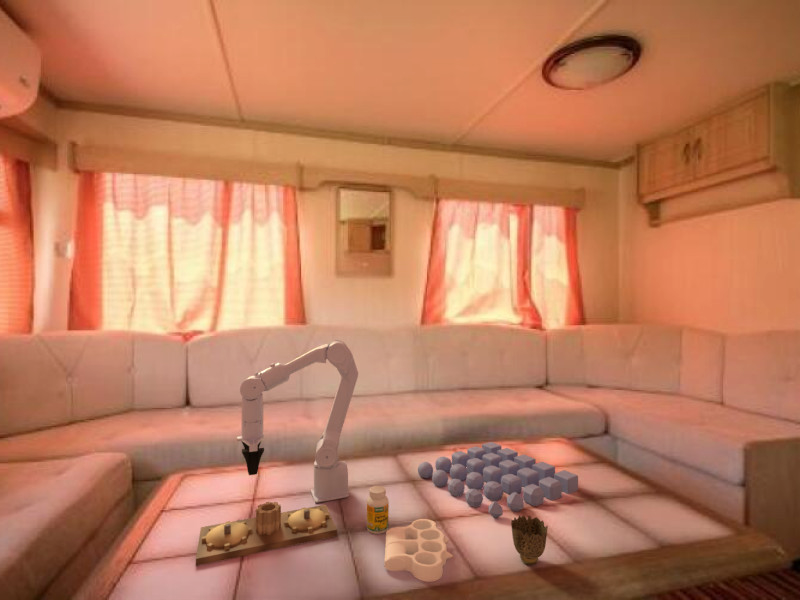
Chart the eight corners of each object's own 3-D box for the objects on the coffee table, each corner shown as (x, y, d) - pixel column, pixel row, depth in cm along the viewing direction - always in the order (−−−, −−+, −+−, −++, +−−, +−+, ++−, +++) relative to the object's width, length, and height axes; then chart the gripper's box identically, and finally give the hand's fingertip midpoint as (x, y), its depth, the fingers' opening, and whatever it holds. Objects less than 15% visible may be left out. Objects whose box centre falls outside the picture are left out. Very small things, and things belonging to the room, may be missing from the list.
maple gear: (279, 520, 101) (279, 500, 101) (281, 532, 96) (281, 510, 96) (255, 524, 99) (255, 504, 99) (256, 537, 94) (256, 515, 94)
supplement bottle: (381, 520, 104) (381, 482, 104) (392, 530, 99) (392, 490, 99) (362, 526, 101) (362, 487, 101) (373, 537, 96) (373, 496, 96)
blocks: (578, 492, 121) (578, 475, 121) (495, 526, 102) (495, 507, 102) (491, 455, 150) (491, 441, 150) (414, 476, 131) (414, 461, 131)
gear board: (325, 510, 109) (325, 495, 109) (336, 535, 97) (336, 518, 97) (200, 533, 98) (200, 516, 98) (195, 566, 86) (195, 546, 86)
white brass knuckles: (386, 532, 99) (446, 532, 99) (383, 583, 81) (457, 583, 81) (386, 518, 99) (446, 518, 99) (383, 566, 81) (457, 566, 81)
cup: (506, 551, 91) (506, 515, 91) (538, 549, 91) (538, 513, 92) (518, 573, 83) (518, 534, 83) (553, 571, 84) (553, 532, 84)
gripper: (237, 414, 119) (236, 461, 119) (237, 429, 106) (236, 481, 106) (262, 412, 122) (262, 458, 122) (265, 426, 108) (265, 477, 108)
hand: (252, 469), depth 114 cm, fingers open, 7 cm apart
